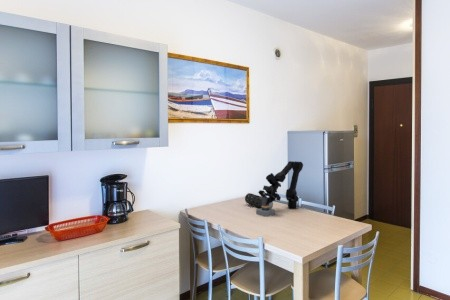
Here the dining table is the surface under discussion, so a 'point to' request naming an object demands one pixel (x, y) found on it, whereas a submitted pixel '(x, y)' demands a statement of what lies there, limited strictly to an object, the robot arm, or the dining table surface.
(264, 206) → the plug
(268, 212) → the socket block
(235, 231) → the dining table surface
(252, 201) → the black cylindrical piece
